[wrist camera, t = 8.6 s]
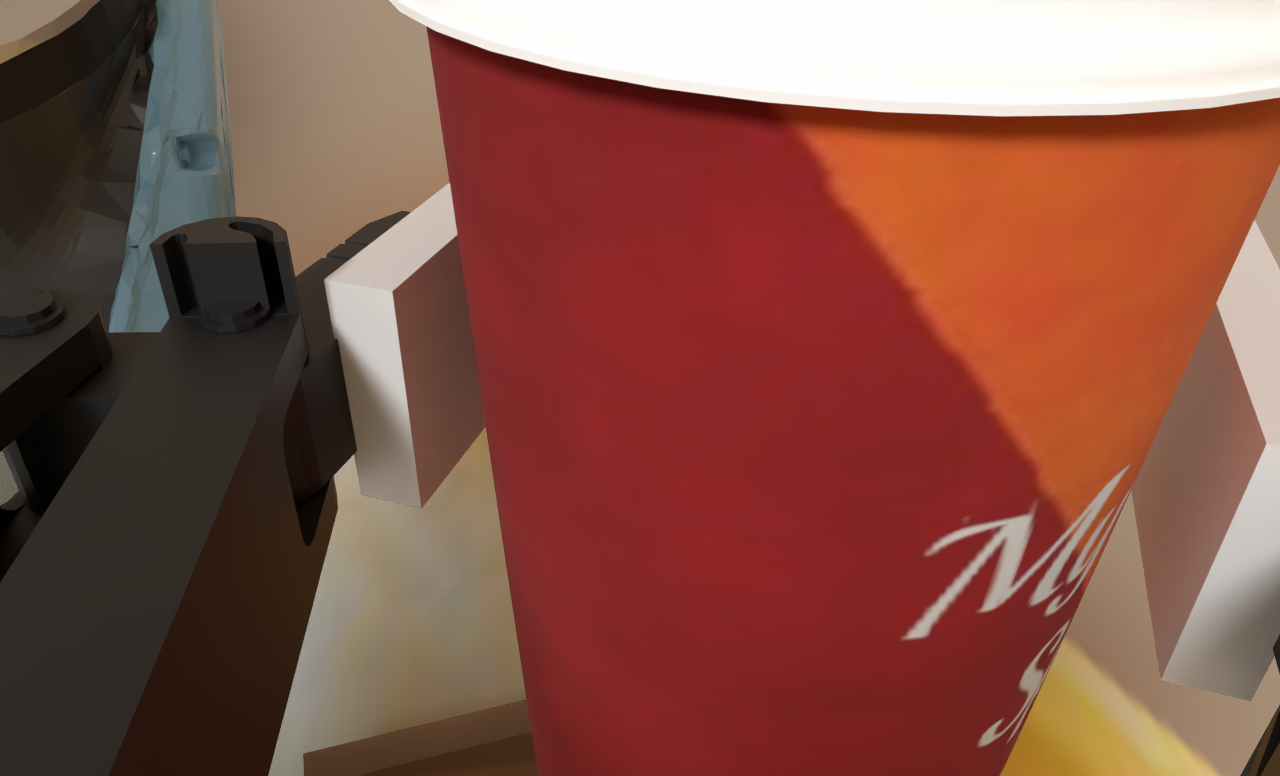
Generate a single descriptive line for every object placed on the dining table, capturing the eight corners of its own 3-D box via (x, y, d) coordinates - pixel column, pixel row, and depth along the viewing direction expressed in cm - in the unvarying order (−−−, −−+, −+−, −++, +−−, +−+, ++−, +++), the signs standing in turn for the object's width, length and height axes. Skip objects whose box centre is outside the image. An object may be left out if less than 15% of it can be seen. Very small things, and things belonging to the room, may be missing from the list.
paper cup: (1002, 1252, 11) (1847, -155, 4) (389, 1033, 13) (85, -221, 5) (999, 712, 18) (1303, -217, 10) (586, 614, 19) (575, -238, 12)
